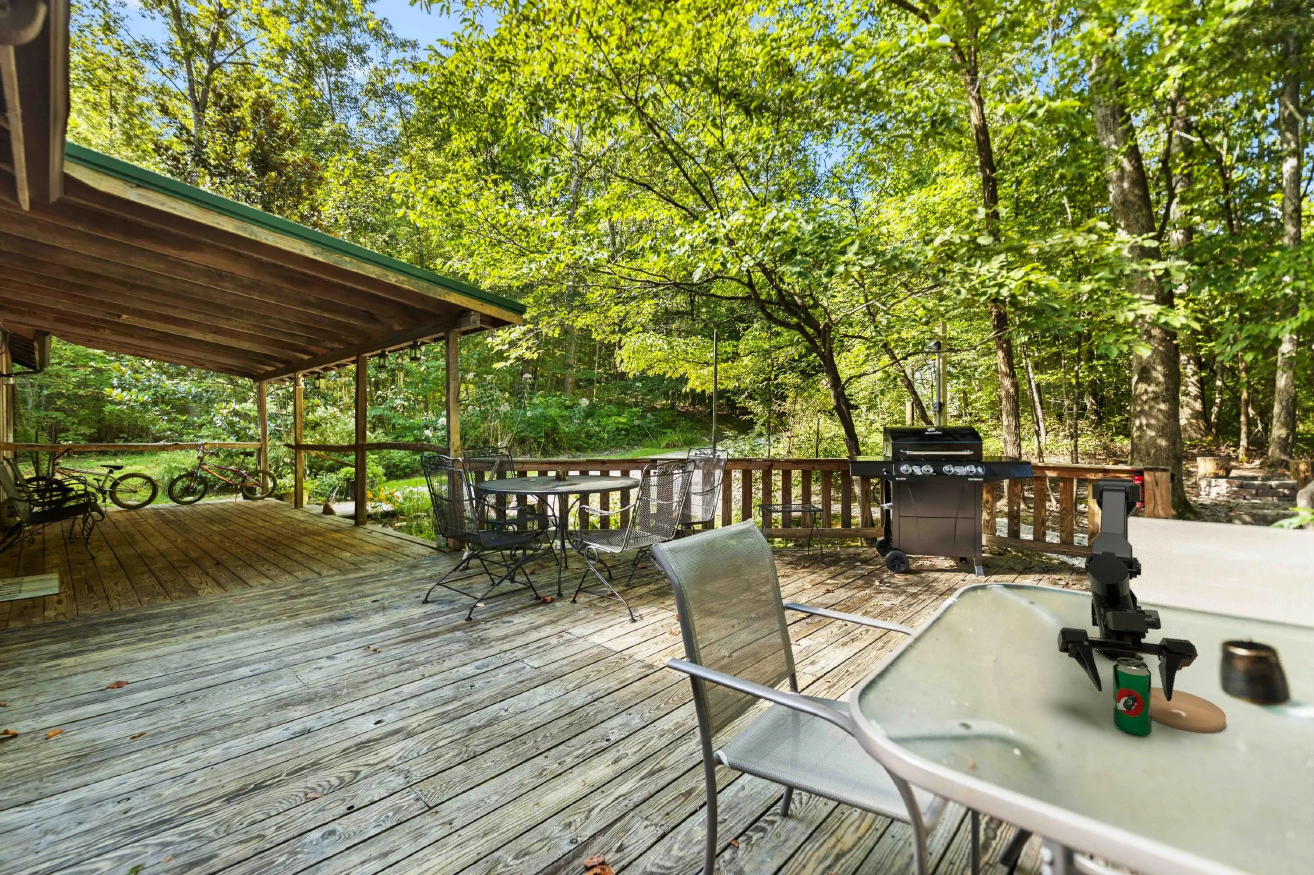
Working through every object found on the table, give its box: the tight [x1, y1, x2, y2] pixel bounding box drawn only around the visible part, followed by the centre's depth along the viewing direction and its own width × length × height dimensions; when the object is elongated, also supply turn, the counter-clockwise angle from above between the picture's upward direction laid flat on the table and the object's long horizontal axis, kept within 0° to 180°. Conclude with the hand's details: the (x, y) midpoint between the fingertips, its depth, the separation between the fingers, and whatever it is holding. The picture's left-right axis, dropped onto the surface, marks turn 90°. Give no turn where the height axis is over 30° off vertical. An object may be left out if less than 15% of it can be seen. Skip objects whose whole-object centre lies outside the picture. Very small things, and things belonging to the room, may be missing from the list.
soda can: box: [1112, 657, 1153, 738], centre depth 95 cm, size 5×5×12 cm
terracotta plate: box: [1151, 686, 1227, 734], centre depth 99 cm, size 12×12×2 cm
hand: (1134, 695), depth 94 cm, fingers open, 9 cm apart
